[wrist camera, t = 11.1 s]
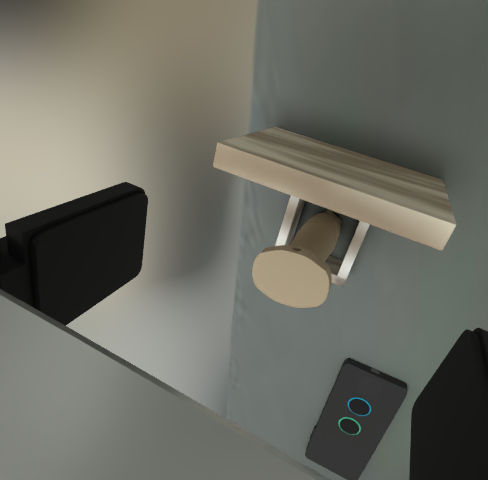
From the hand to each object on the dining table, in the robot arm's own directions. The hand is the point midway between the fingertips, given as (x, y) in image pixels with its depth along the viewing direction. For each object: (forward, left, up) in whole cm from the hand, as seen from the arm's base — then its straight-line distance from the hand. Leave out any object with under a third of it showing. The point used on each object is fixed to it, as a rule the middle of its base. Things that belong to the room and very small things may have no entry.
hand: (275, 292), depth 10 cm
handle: (+10, -2, -32) cm, 33 cm away
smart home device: (+36, +11, -32) cm, 50 cm away
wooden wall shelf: (+8, -2, -32) cm, 33 cm away
